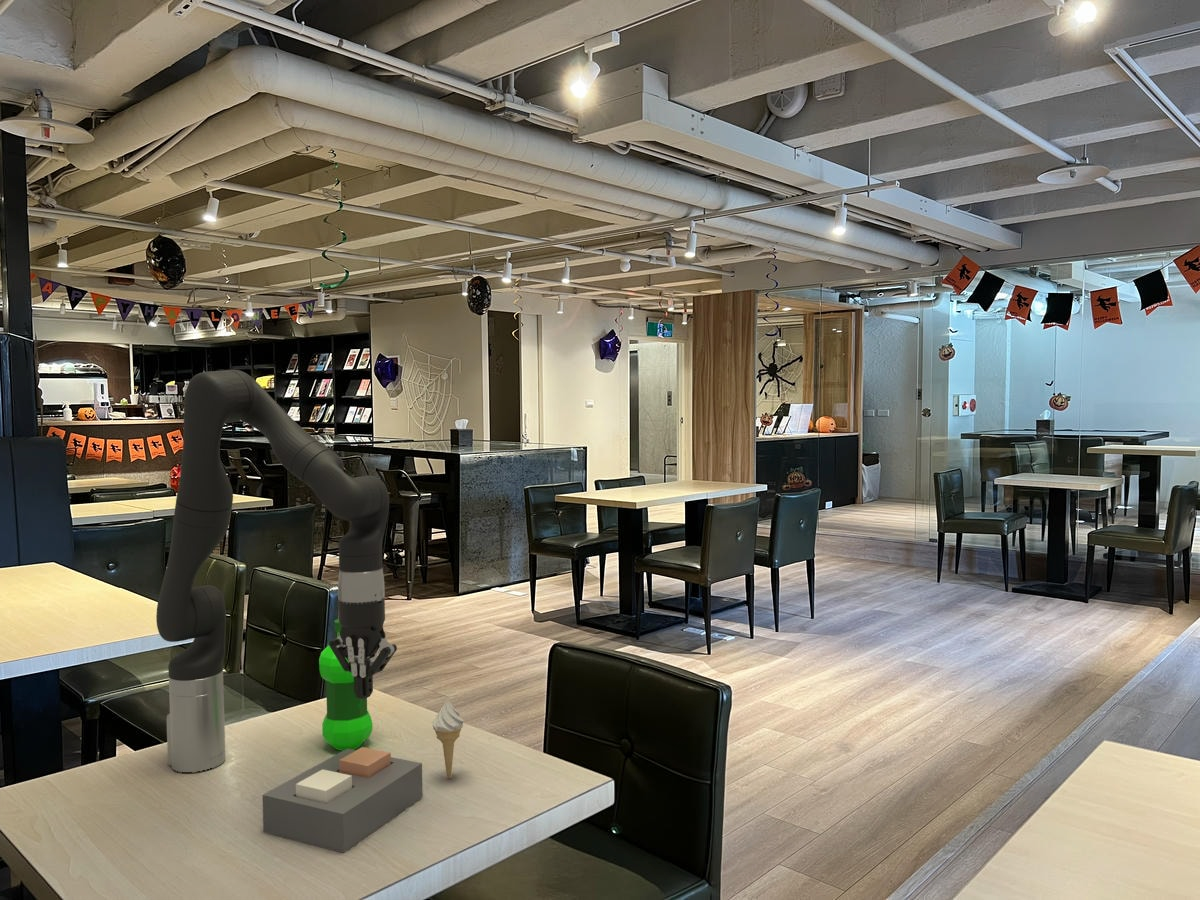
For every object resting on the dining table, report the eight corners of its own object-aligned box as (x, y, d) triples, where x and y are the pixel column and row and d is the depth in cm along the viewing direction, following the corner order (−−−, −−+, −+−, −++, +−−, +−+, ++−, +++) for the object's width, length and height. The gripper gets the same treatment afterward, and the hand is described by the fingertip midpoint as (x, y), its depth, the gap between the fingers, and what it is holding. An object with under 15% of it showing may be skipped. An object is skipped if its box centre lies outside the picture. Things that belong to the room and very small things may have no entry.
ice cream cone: (470, 775, 158) (469, 694, 157) (452, 788, 153) (451, 704, 152) (444, 770, 161) (443, 690, 160) (426, 782, 156) (425, 699, 155)
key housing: (263, 831, 138) (262, 794, 138) (348, 781, 156) (347, 748, 156) (343, 852, 131) (343, 814, 131) (422, 797, 150) (422, 763, 149)
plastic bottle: (312, 743, 173) (309, 619, 172) (363, 731, 180) (361, 611, 178) (330, 760, 165) (327, 630, 164) (383, 747, 172) (380, 621, 170)
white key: (296, 802, 137) (295, 784, 137) (322, 787, 143) (322, 769, 143) (326, 809, 135) (325, 790, 135) (352, 793, 140) (351, 775, 140)
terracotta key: (339, 777, 147) (339, 760, 146) (362, 763, 152) (362, 747, 152) (368, 783, 144) (367, 766, 144) (390, 769, 150) (390, 752, 149)
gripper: (314, 596, 146) (317, 699, 147) (379, 603, 140) (381, 709, 141) (345, 588, 152) (347, 685, 153) (407, 594, 147) (409, 695, 148)
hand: (363, 697), depth 147 cm, fingers closed
